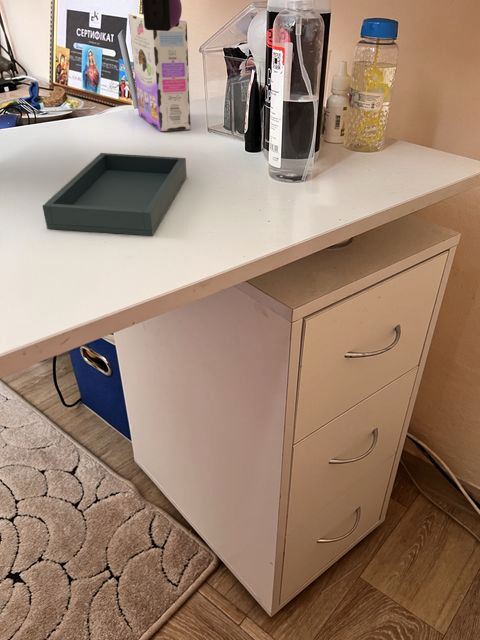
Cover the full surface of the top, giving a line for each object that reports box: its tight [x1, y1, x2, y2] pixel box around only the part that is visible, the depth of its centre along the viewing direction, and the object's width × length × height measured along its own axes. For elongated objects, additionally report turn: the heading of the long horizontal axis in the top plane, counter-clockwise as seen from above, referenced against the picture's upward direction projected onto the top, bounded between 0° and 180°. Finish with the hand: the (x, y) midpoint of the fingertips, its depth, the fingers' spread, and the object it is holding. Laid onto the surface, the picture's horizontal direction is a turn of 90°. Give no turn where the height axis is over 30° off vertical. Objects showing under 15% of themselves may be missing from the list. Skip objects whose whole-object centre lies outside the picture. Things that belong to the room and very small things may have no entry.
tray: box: [42, 152, 188, 237], centre depth 65 cm, size 12×20×3 cm, turn 176°
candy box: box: [128, 13, 192, 132], centre depth 92 cm, size 14×6×16 cm, turn 27°
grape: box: [140, 0, 183, 28], centre depth 67 cm, size 5×5×5 cm
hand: (162, 26), depth 68 cm, fingers closed on grape, 4 cm apart
